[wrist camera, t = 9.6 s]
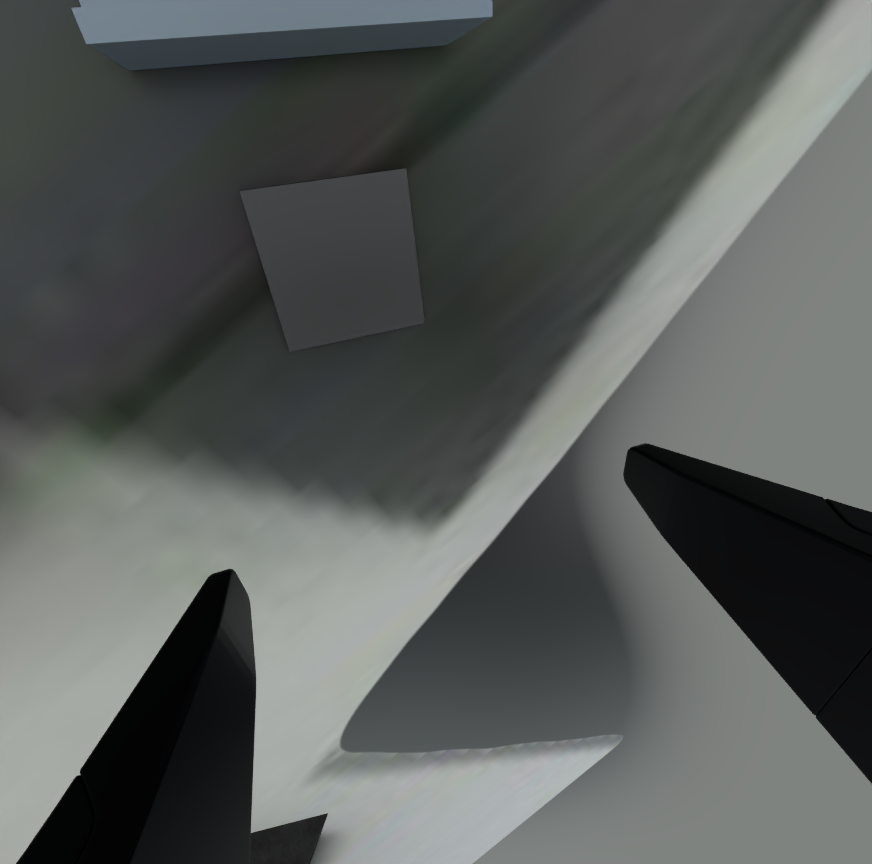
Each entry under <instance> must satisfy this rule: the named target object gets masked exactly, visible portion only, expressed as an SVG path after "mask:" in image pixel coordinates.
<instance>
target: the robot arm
mask: <svg viewBox="0 0 872 864" xmlns="http://www.w3.org/2000/svg"><path fill="white" fill-rule="evenodd" d="M623 474H624V475H623V476H624V481H625V483H626V485H627V486H628V488H629V489H630V491H631V492H632V493H633V495H634V496H635V498H636V499H637V501H638V502H639V504H640V505H641V507H642V508H643V509H644V511H645V512H646V514H647V515H648V516H649V518H650V519H651V521H652V522H653V524H654V525H655V527H656V528H657V530H658V531H659V532H660V534H661V535H662V536H663V537H664V539H665V540H666V541H667V542H668V543H669V545H670V546H671V547H672V548H673V549H674V551H675V552H676V553H677V554H678V555H679V557H680V558H681V559H682V560H683V561H684V562H685V564H686V565H687V566H688V567H689V568H690V570H691V571H692V572H693V573H694V574H695V575H696V576H697V578H698V579H699V580H700V581H701V582H702V584H703V585H704V586H705V587H706V588H707V589H708V591H709V592H710V593H711V594H712V596H713V597H714V598H715V599H716V600H717V601H718V603H719V604H720V605H721V606H722V607H723V608H724V610H725V611H726V612H727V613H728V614H729V615H730V617H731V618H732V619H733V620H734V621H735V623H736V624H737V625H738V626H739V627H740V628H741V630H742V631H743V632H744V633H745V634H746V635H747V637H748V638H749V639H750V640H751V641H752V643H753V644H754V645H755V646H756V647H757V648H758V650H759V651H760V652H761V653H762V654H763V656H765V658H766V659H767V660H768V662H769V663H770V664H771V665H772V666H773V667H774V669H775V670H776V671H777V672H778V673H779V674H780V676H781V677H782V678H783V679H784V680H785V682H786V683H787V684H788V685H789V686H790V687H791V689H792V690H793V691H794V692H795V693H796V695H797V696H798V697H799V698H800V699H801V700H802V702H804V704H805V705H806V706H807V707H808V709H809V710H810V711H811V712H812V713H813V714H814V715H816V718H817V720H818V721H819V722H820V723H821V724H822V726H823V727H824V728H825V729H826V730H827V731H828V733H829V734H830V735H831V736H832V737H833V738H834V740H835V741H836V742H837V743H838V744H839V746H840V747H841V748H842V749H843V750H844V751H845V753H846V754H847V755H848V756H849V757H850V759H851V760H852V761H853V762H854V763H855V764H856V765H857V767H858V768H859V769H860V770H861V772H862V773H863V774H864V775H865V776H866V777H867V779H868V780H869V781H870V782H871V783H872V512H869V511H866V510H863V509H859V508H855V507H852V506H848V505H846V504H842V503H839V502H836V501H833V500H829V499H823V497H819V496H816V495H813V494H810V493H807V492H803V491H800V490H797V489H794V488H790V487H787V486H784V485H780V484H777V483H773V482H770V481H768V480H764V479H761V478H758V477H754V476H751V475H748V474H744V473H741V472H738V471H735V470H731V469H728V468H725V467H722V466H719V465H715V464H712V463H709V462H706V461H702V460H699V459H696V458H693V457H689V456H686V455H683V454H680V453H676V452H673V451H670V450H667V449H664V448H660V447H657V446H654V445H650V444H646V443H645V444H640V445H637V446H634V447H631V448H630V449H629V450H628V452H627V456H626V462H625V468H624V473H623ZM255 705H256V670H255V657H254V644H253V632H252V620H251V607H250V600H249V597H248V594H247V592H246V590H245V588H244V587H243V585H242V583H241V581H240V579H239V578H238V576H237V574H236V572H235V571H234V570H232V569H227V570H224V571H221V572H217V573H214V574H212V575H210V576H209V577H208V578H207V580H206V581H205V583H204V584H203V586H202V587H201V589H200V590H199V592H198V593H197V595H196V596H195V598H194V599H193V601H192V602H191V604H190V605H189V607H188V608H187V610H186V611H185V613H184V614H183V616H182V617H181V619H180V620H179V622H178V623H177V625H176V626H175V628H174V629H173V631H172V632H171V634H170V636H169V637H168V639H167V640H166V642H165V643H164V645H163V646H162V648H161V649H160V651H159V652H158V654H157V655H156V657H155V658H154V660H153V661H152V663H151V664H150V666H149V667H148V669H147V670H146V672H145V673H144V675H143V676H142V678H141V679H140V681H139V682H138V684H137V685H136V687H135V688H134V690H133V691H132V693H131V694H130V696H129V697H128V699H127V700H126V702H125V703H124V705H123V706H122V708H121V709H120V711H119V712H118V714H117V715H116V717H115V718H114V720H113V721H112V723H111V724H110V726H109V727H108V729H107V731H106V732H105V734H104V735H103V737H102V738H101V740H100V741H99V743H98V744H97V746H96V747H95V749H94V750H93V752H92V753H91V755H90V756H89V758H88V759H87V761H86V762H85V764H84V765H83V767H82V768H81V770H80V774H81V775H78V776H76V777H75V778H74V780H73V781H72V783H71V784H70V786H69V787H68V789H67V790H66V792H65V793H64V795H63V797H62V798H61V800H60V801H59V803H58V804H57V806H56V807H55V808H54V810H53V811H52V813H51V814H50V816H49V817H48V819H47V820H46V822H45V823H44V824H43V826H42V827H41V829H40V830H39V832H38V833H37V835H36V836H35V838H34V839H33V840H32V842H31V843H30V845H29V846H28V848H27V849H26V851H25V852H24V853H23V855H22V856H21V858H20V859H19V860H18V862H17V863H16V864H249V861H250V835H251V809H252V783H253V757H254V731H255Z"/></svg>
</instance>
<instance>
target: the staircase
mask: <svg viewBox="0 0 872 864" xmlns="http://www.w3.org/2000/svg"><path fill="white" fill-rule="evenodd" d="M79 2H80V4H81V7H78V8H72V11H73V13H74V16H75V18H76V21H77V23H78V25H79V28H80V30H81V33H82V35H83V37H84V40H85V42H86V44H87V45H89V46H90V47H92V48H94V49H95V50H97V51H98V52H100V53H102V54H103V55H105V56H106V57H108V58H110V59H111V60H113V61H115V62H116V63H118V64H119V65H121V66H123V67H124V68H126V69H127V70H129V71H132V70H145V69H158V68H170V67H183V66H195V65H208V64H220V63H233V62H245V61H258V60H270V59H283V58H295V57H308V56H320V55H333V54H346V53H358V52H371V51H383V50H396V49H408V48H421V47H433V46H446V45H448V44H450V43H452V42H453V41H455V40H456V39H458V38H459V37H461V36H463V35H464V34H466V33H467V32H469V31H471V30H472V29H474V28H475V27H477V26H479V25H480V24H482V23H483V22H485V21H486V20H488V19H490V18H491V17H493V15H492V0H79Z"/></svg>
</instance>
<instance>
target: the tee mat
mask: <svg viewBox="0 0 872 864" xmlns="http://www.w3.org/2000/svg"><path fill="white" fill-rule="evenodd" d="M240 195H241V198H242V201H243V204H244V207H245V211H246V214H247V217H248V220H249V223H250V227H251V230H252V233H253V236H254V240H255V243H256V246H257V249H258V252H259V256H260V259H261V262H262V265H263V268H264V272H265V275H266V278H267V281H268V284H269V288H270V291H271V294H272V297H273V300H274V304H275V307H276V310H277V313H278V317H279V320H280V323H281V326H282V329H283V333H284V336H285V339H286V342H287V345H288V349H289V352H293V351H297V350H302V349H307V348H311V347H316V346H321V345H325V344H330V343H335V342H339V341H344V340H349V339H353V338H358V337H363V336H367V335H372V334H377V333H381V332H386V331H391V330H396V329H400V328H405V327H410V326H414V325H419V324H424V323H425V320H424V312H423V303H422V295H421V287H420V278H419V270H418V262H417V254H416V245H415V237H414V229H413V220H412V212H411V204H410V196H409V187H408V179H407V171H406V168H403V169H396V170H388V171H381V172H374V173H367V174H359V175H352V176H345V177H337V178H330V179H323V180H316V181H308V182H301V183H294V184H286V185H279V186H272V187H265V188H257V189H250V190H243V191H240Z"/></svg>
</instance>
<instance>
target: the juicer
mask: <svg viewBox="0 0 872 864" xmlns="http://www.w3.org/2000/svg"><path fill="white" fill-rule="evenodd" d="M327 815H328V813H327V814H324V815H320V816H316V817H312V818H308V819H304V820H300V821H296V822H293V823H289V824H285V825H281V826H277V827H273V828H269V829H265V830H262V831H258V832H254V833H251V835H250V861H249V864H310V862H311V859H312V856H313V853H314V851H315V848H316V845H317V842H318V840H319V837H320V834H321V831H322V829H323V826H324V823H325V820H326V817H327Z"/></svg>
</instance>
